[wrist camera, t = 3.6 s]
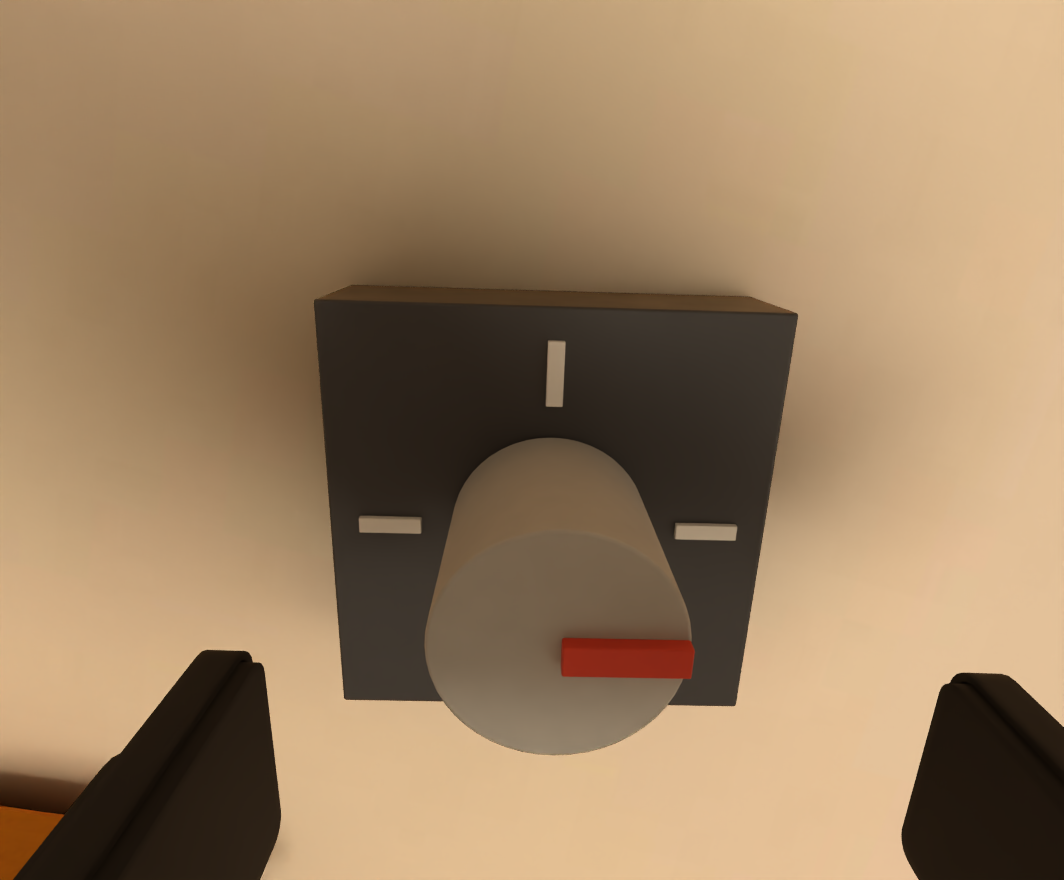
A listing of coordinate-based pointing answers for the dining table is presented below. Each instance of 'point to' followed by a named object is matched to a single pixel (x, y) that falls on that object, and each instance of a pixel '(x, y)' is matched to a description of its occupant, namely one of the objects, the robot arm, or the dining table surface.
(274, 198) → the dining table surface
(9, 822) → the device
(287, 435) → the dining table surface
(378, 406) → the timer panel
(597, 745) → the timer knob
